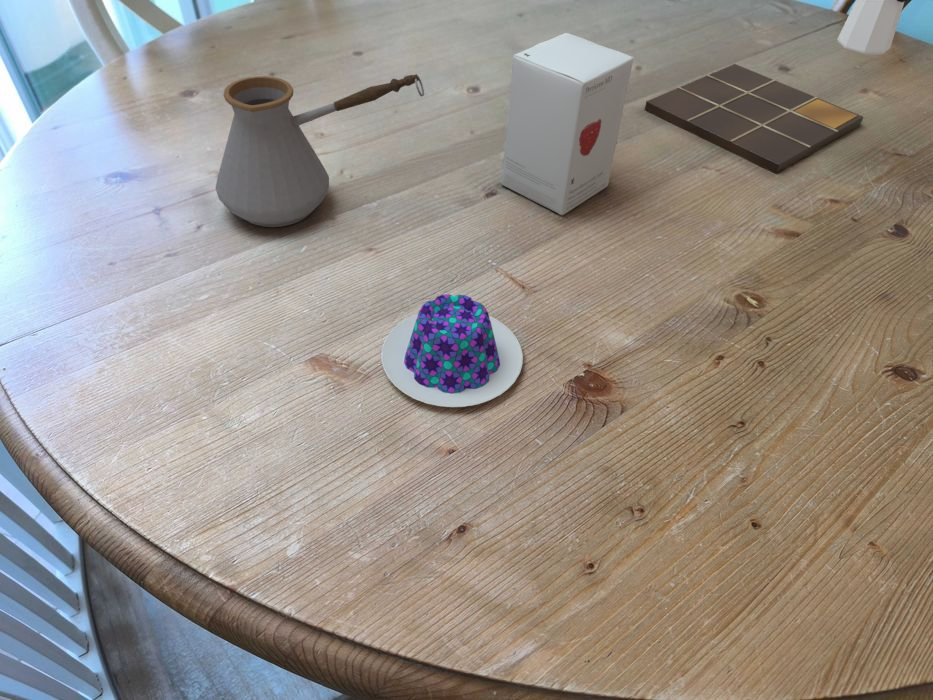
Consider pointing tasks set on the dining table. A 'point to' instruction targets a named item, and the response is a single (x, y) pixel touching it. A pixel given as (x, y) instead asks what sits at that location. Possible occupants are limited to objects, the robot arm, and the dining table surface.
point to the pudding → (452, 354)
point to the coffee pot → (278, 151)
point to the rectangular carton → (564, 120)
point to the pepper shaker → (871, 26)
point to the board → (754, 116)
